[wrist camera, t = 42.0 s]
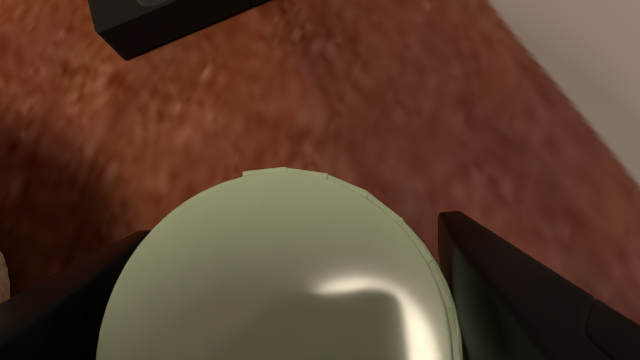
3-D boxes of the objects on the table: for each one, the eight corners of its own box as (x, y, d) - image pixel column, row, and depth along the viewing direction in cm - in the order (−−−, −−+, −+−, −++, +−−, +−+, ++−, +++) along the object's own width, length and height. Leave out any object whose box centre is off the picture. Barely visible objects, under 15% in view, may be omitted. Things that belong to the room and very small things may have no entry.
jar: (435, 427, 13) (531, 616, 5) (249, 433, 14) (38, 609, 5) (411, 237, 15) (448, 128, 7) (248, 250, 16) (92, 167, 7)
